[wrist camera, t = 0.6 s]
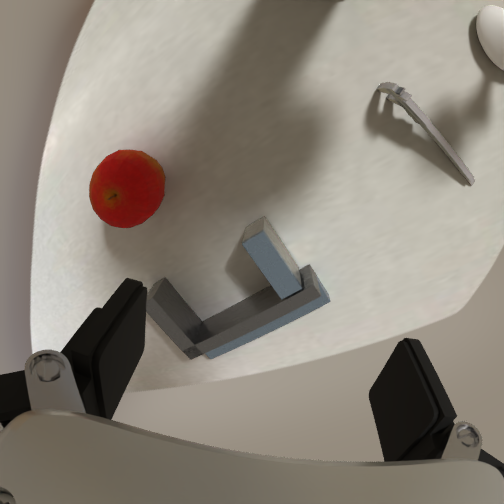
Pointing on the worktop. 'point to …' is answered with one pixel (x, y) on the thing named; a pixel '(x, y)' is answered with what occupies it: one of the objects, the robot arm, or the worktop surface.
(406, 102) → the caliper
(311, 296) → the bracket
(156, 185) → the apple
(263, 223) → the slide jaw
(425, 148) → the worktop surface
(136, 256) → the worktop surface
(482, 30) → the flower in vase
